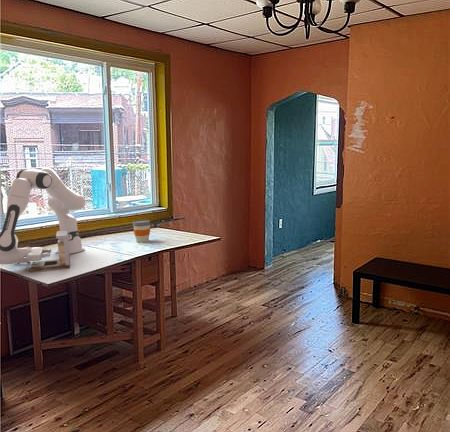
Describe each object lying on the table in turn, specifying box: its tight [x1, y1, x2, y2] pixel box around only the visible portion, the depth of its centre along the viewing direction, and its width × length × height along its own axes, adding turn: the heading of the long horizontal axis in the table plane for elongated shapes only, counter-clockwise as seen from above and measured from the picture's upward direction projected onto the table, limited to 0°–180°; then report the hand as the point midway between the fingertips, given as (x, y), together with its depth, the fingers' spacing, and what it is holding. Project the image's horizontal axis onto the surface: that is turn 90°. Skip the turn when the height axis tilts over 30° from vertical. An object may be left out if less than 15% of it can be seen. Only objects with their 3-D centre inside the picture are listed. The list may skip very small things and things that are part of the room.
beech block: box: [57, 241, 65, 263], centre depth 266 cm, size 5×5×12 cm
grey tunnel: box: [55, 230, 71, 265], centre depth 265 cm, size 16×6×18 cm, turn 18°
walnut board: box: [29, 258, 71, 273], centre depth 265 cm, size 16×21×2 cm
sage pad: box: [30, 261, 45, 268], centre depth 262 cm, size 9×7×1 cm
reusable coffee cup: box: [132, 219, 151, 244], centre depth 328 cm, size 13×13×15 cm
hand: (50, 252), depth 264 cm, fingers open, 8 cm apart
